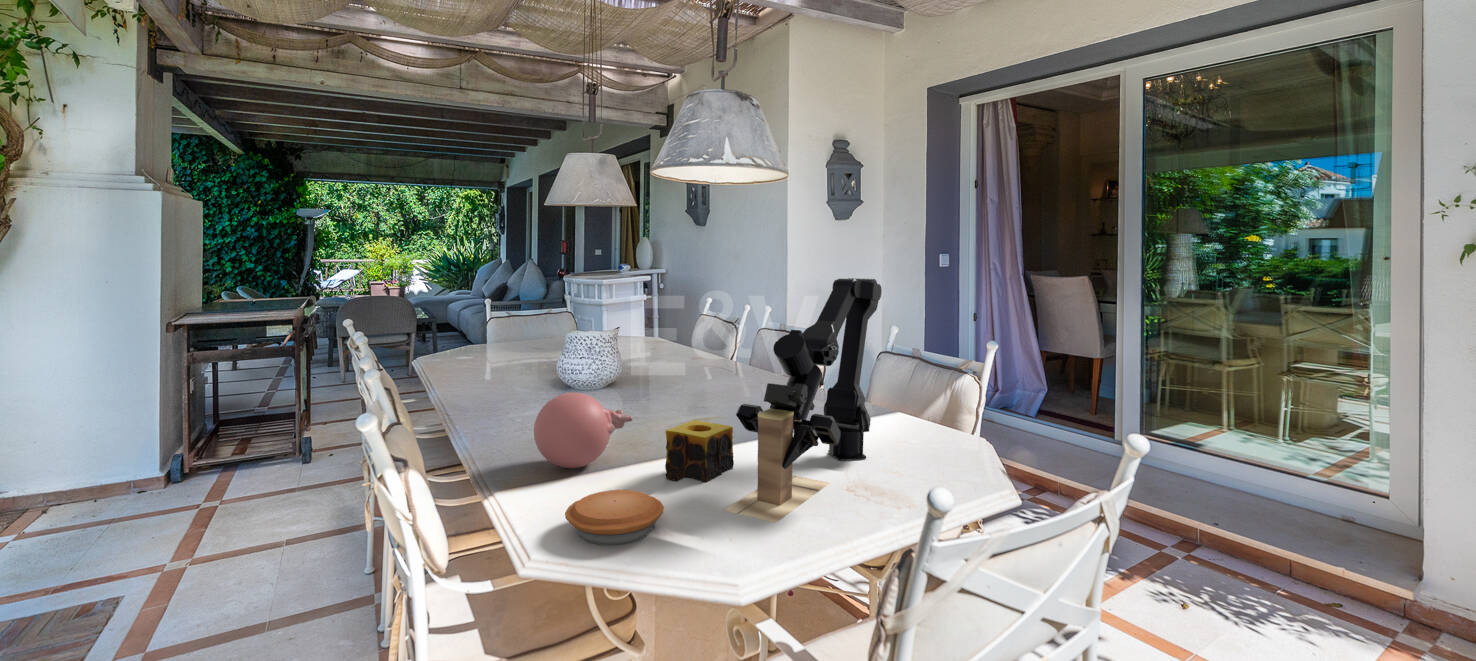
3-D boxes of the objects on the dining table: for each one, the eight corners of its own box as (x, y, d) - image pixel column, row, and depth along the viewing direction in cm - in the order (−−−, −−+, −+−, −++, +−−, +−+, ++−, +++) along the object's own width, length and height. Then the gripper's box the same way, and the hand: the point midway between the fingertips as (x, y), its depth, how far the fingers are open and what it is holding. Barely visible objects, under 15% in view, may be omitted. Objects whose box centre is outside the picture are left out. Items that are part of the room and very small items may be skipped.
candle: (706, 489, 127) (706, 438, 125) (663, 479, 132) (663, 430, 131) (734, 474, 135) (735, 426, 134) (694, 465, 140) (693, 419, 139)
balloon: (635, 475, 134) (634, 399, 132) (530, 480, 130) (528, 403, 128) (632, 452, 149) (631, 384, 147) (538, 456, 145) (536, 387, 143)
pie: (601, 506, 118) (601, 479, 117) (680, 520, 112) (680, 491, 112) (545, 541, 104) (544, 510, 103) (631, 559, 98) (631, 526, 97)
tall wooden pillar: (769, 492, 122) (770, 408, 120) (792, 497, 119) (793, 411, 117) (756, 500, 118) (757, 413, 116) (780, 505, 115) (781, 417, 113)
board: (782, 479, 132) (783, 473, 132) (830, 488, 127) (830, 482, 127) (723, 516, 113) (723, 510, 113) (775, 529, 108) (776, 522, 108)
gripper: (741, 360, 124) (708, 432, 116) (835, 370, 114) (807, 450, 106) (761, 394, 131) (732, 464, 123) (851, 406, 122) (825, 483, 114)
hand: (771, 465), depth 116 cm, fingers closed on tall wooden pillar, 4 cm apart
